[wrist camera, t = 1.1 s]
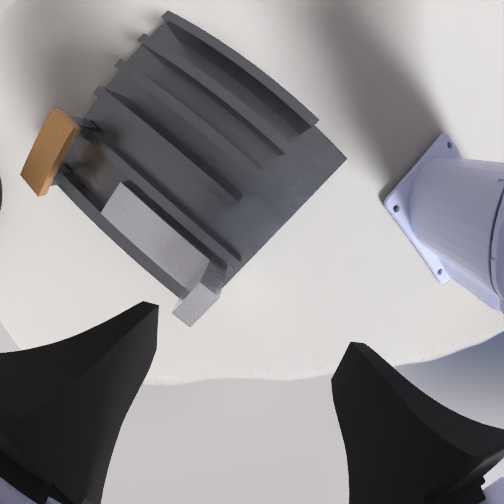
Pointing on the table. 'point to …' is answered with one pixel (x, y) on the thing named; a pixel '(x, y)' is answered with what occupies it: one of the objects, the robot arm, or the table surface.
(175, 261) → the clip
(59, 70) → the table surface
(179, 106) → the heatsink
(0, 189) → the camera lens
